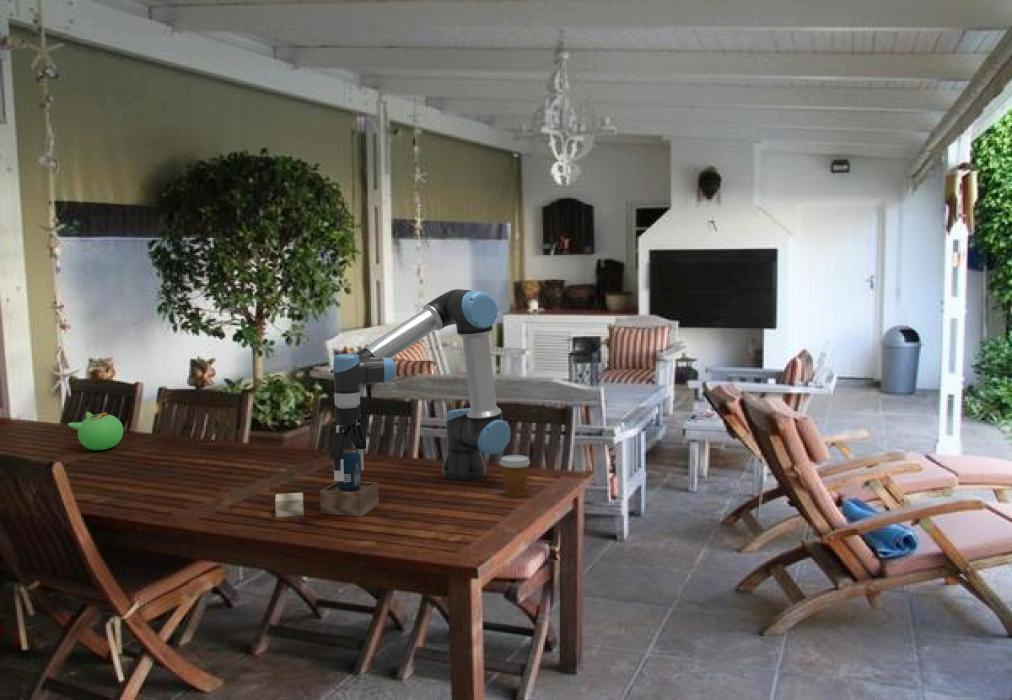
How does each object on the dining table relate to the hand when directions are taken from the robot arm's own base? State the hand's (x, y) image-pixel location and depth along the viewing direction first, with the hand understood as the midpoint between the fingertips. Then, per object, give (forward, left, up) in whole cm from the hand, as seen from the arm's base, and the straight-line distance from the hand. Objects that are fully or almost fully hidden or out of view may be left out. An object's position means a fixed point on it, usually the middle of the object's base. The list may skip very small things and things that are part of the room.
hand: (349, 475), depth 289 cm
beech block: (+16, +8, -11) cm, 21 cm away
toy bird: (+131, -49, -11) cm, 140 cm away
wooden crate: (0, 0, -10) cm, 10 cm away
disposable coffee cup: (-44, -28, -11) cm, 53 cm away
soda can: (0, 0, -5) cm, 5 cm away
